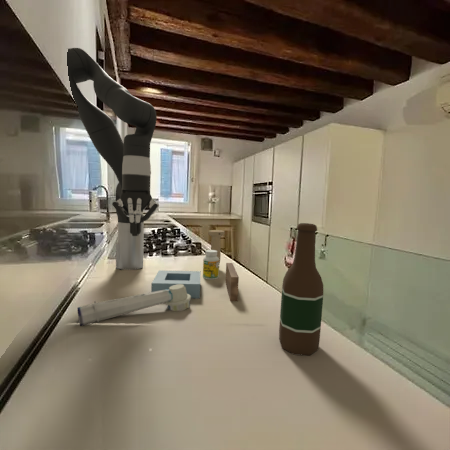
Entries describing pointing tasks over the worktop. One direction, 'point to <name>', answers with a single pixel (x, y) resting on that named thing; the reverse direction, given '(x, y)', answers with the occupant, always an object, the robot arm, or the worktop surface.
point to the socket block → (178, 281)
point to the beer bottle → (302, 297)
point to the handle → (216, 240)
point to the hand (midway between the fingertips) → (135, 235)
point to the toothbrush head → (135, 304)
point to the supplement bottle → (210, 265)
